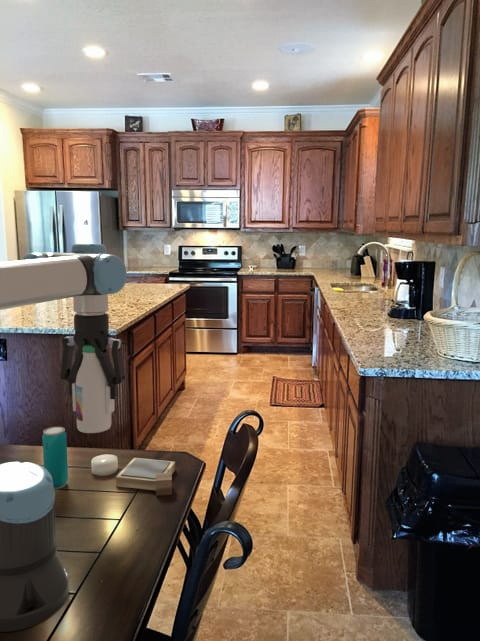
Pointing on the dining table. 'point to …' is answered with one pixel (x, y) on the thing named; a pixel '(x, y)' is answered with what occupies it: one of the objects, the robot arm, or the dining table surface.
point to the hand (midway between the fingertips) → (93, 410)
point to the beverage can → (56, 455)
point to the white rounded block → (104, 465)
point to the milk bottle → (91, 394)
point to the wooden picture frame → (143, 473)
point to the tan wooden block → (163, 484)
